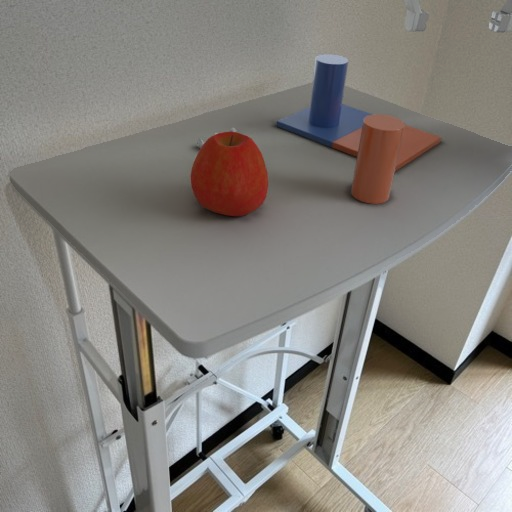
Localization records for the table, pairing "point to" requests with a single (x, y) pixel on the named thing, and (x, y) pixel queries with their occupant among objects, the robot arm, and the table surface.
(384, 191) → the terracotta canister
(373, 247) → the table surface
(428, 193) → the table surface
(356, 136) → the board
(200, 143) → the game pieces
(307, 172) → the table surface
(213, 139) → the apple
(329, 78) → the blue canister
